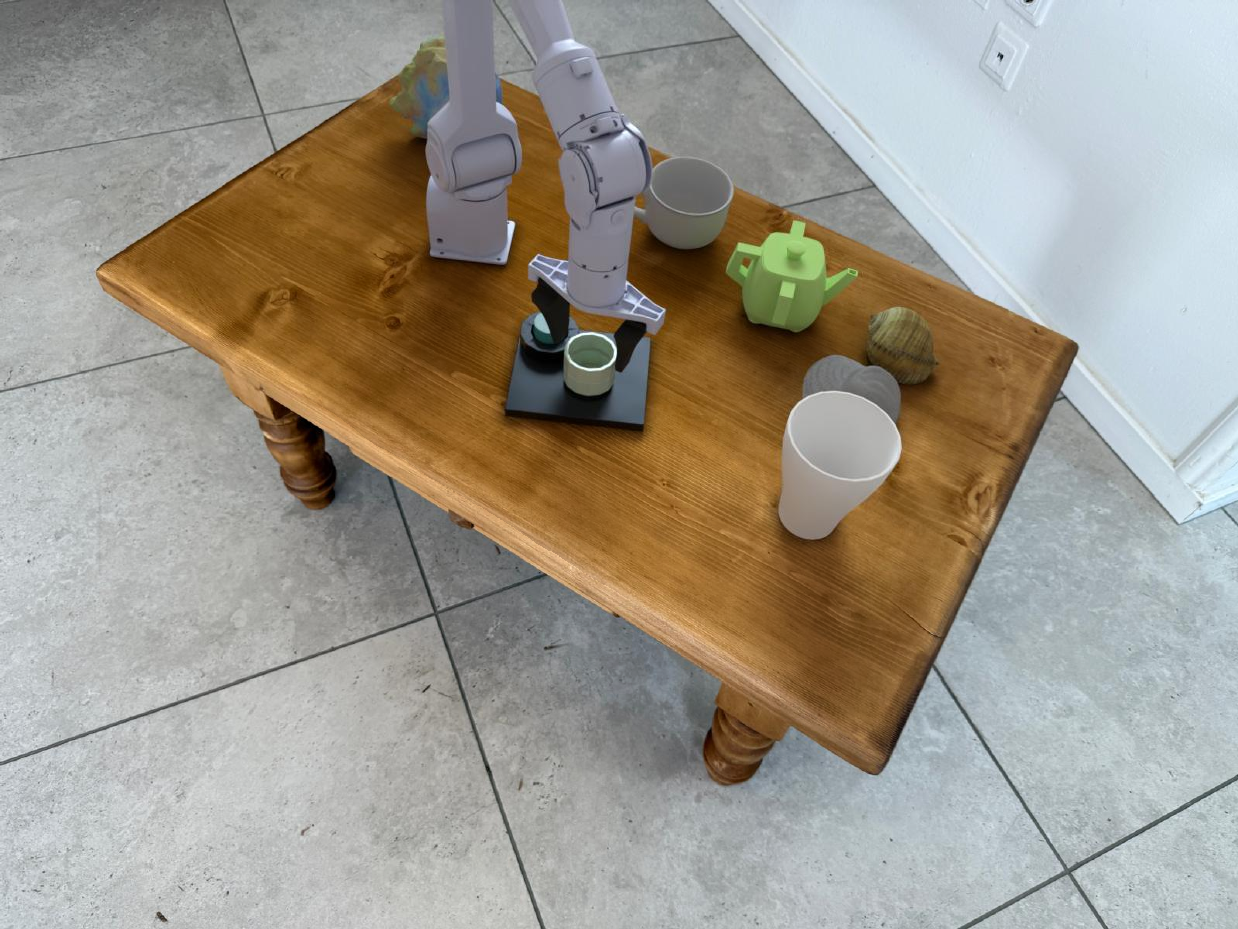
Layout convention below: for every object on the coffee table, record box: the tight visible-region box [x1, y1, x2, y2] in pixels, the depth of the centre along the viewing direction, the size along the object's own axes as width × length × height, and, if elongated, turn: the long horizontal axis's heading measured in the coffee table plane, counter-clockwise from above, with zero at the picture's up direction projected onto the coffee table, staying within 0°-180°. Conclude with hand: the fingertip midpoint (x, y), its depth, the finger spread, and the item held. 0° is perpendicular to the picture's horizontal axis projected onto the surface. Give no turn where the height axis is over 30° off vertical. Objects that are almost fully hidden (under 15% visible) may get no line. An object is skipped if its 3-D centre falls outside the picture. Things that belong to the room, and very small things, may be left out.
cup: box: [778, 391, 903, 541], centre depth 85 cm, size 10×10×14 cm
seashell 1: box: [801, 354, 902, 426], centre depth 97 cm, size 12×6×10 cm
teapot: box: [725, 220, 859, 333], centre depth 105 cm, size 12×12×10 cm
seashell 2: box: [865, 306, 940, 386], centre depth 103 cm, size 10×7×8 cm
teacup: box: [634, 156, 735, 250], centre depth 112 cm, size 14×11×8 cm
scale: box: [504, 311, 652, 432], centre depth 98 cm, size 15×14×3 cm
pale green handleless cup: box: [563, 331, 617, 396], centre depth 96 cm, size 6×6×4 cm
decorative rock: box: [389, 34, 503, 140], centre depth 119 cm, size 14×16×15 cm
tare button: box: [534, 313, 565, 345], centre depth 99 cm, size 4×4×2 cm
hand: (591, 351), depth 94 cm, fingers open, 7 cm apart
